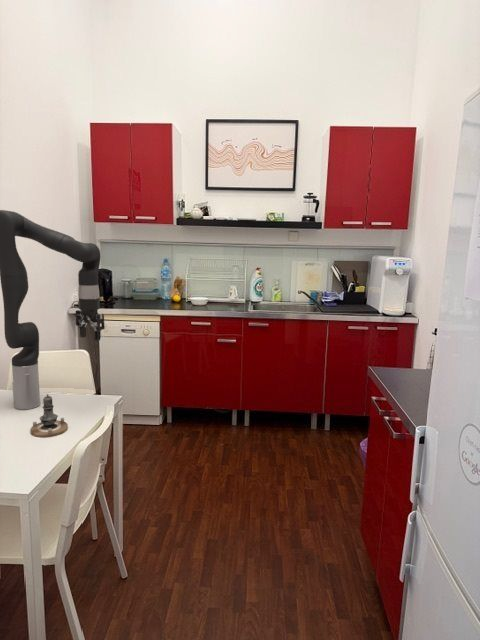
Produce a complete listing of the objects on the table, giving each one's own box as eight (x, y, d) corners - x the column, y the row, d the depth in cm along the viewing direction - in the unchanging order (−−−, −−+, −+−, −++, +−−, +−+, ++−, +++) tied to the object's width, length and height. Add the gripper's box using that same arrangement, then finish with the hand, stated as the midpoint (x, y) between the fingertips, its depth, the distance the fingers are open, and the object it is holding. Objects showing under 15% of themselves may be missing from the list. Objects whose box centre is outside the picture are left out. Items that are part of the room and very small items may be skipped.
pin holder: (23, 431, 156) (23, 424, 156) (54, 420, 166) (54, 413, 165) (43, 440, 149) (43, 433, 149) (75, 428, 159) (74, 422, 159)
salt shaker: (51, 431, 154) (50, 397, 152) (36, 429, 155) (34, 396, 153) (61, 424, 160) (60, 392, 158) (46, 422, 161) (45, 390, 159)
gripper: (68, 295, 171) (70, 337, 174) (92, 299, 163) (94, 343, 166) (85, 294, 177) (86, 334, 180) (109, 297, 169) (110, 339, 172)
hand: (90, 338), depth 173 cm, fingers open, 8 cm apart
